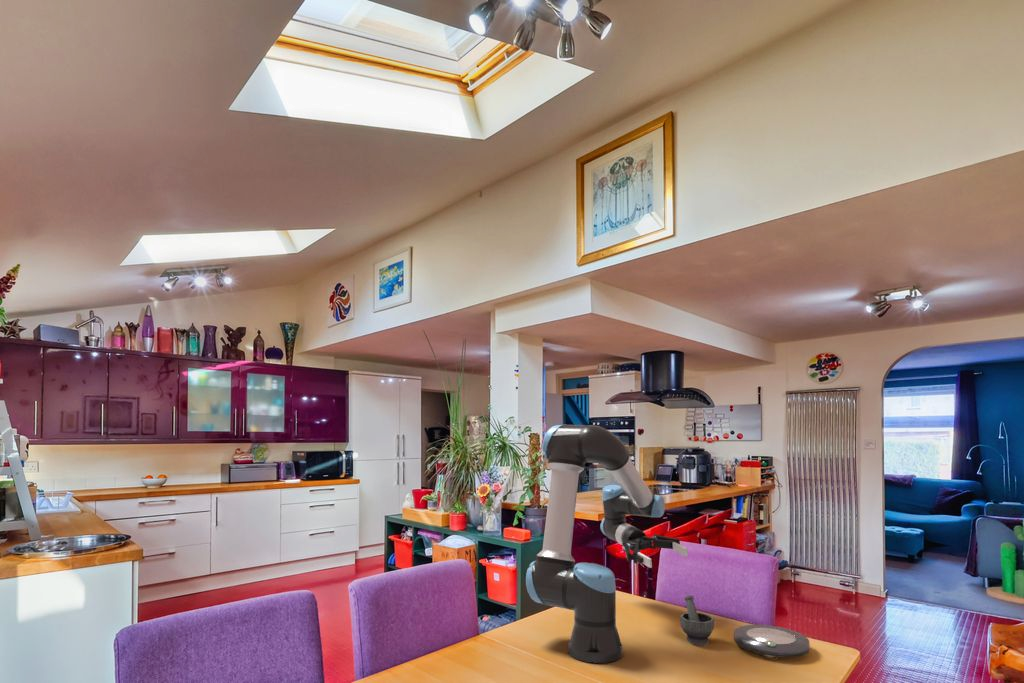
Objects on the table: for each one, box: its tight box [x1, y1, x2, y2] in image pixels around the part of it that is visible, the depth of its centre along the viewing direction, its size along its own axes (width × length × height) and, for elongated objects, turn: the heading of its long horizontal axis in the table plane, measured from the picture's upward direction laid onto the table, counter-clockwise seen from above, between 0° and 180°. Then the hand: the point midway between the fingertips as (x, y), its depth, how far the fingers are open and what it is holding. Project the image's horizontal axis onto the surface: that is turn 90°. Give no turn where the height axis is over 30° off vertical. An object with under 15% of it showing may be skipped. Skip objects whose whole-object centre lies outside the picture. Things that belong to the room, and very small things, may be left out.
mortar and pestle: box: [679, 594, 715, 647], centre depth 180 cm, size 11×9×12 cm
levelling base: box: [733, 624, 811, 660], centre depth 174 cm, size 20×20×4 cm
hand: (668, 558), depth 188 cm, fingers open, 13 cm apart
